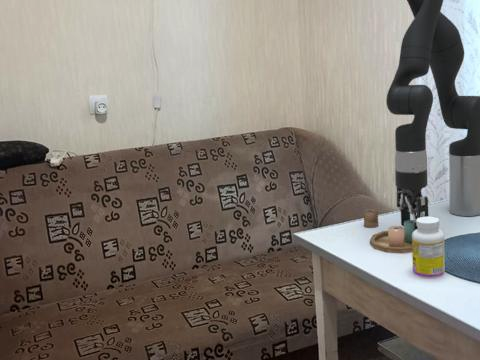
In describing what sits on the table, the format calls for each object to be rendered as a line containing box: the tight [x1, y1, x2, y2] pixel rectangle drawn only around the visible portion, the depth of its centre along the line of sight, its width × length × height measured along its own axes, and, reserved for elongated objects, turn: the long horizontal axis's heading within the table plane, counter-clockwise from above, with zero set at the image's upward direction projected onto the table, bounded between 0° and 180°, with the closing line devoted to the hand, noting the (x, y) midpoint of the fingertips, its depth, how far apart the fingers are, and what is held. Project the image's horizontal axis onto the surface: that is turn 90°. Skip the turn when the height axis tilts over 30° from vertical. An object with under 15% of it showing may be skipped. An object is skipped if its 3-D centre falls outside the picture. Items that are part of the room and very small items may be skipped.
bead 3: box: [403, 219, 414, 244], centre depth 146 cm, size 4×4×5 cm
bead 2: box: [387, 225, 405, 248], centre depth 143 cm, size 4×4×5 cm
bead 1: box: [363, 208, 379, 229], centre depth 161 cm, size 4×4×5 cm
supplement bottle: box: [411, 216, 446, 279], centre depth 126 cm, size 7×7×13 cm
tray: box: [369, 230, 412, 254], centre depth 146 cm, size 14×14×2 cm
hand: (412, 230), depth 146 cm, fingers open, 8 cm apart
